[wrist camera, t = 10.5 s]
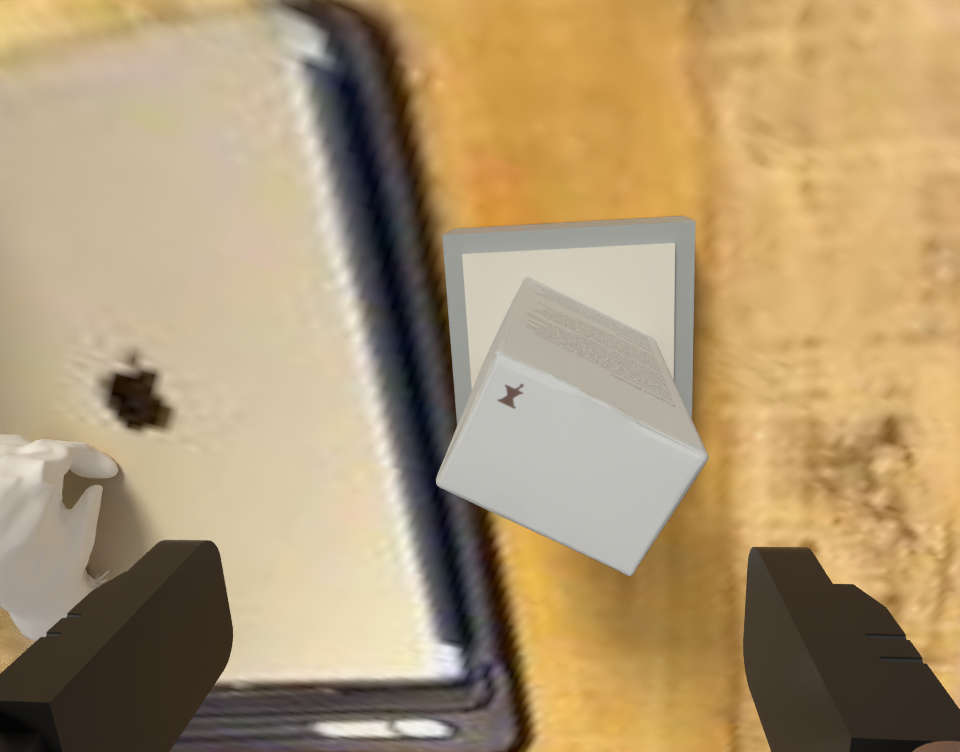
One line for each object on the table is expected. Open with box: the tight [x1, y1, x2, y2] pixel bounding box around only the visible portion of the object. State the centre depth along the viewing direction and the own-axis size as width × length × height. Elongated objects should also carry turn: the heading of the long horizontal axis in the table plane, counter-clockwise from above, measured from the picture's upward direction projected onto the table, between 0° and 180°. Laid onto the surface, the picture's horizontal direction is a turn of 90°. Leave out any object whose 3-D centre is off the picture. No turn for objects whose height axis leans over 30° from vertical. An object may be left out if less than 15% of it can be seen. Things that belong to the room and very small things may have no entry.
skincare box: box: [436, 277, 709, 576], centre depth 24 cm, size 6×4×12 cm
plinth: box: [442, 216, 695, 426], centre depth 31 cm, size 10×10×3 cm
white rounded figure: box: [0, 434, 118, 641], centre depth 35 cm, size 6×8×12 cm
